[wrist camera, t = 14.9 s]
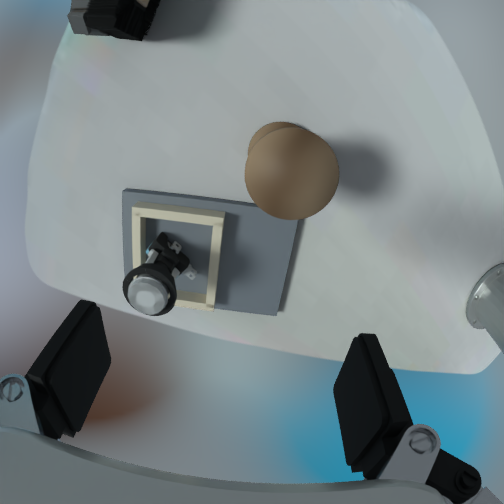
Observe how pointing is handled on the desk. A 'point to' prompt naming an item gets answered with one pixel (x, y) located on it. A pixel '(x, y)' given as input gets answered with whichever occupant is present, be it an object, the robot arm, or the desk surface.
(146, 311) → the push button
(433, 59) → the desk surface
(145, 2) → the cpu cooler
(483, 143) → the desk surface
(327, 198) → the wooden cabinet knob
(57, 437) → the robot arm
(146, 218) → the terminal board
